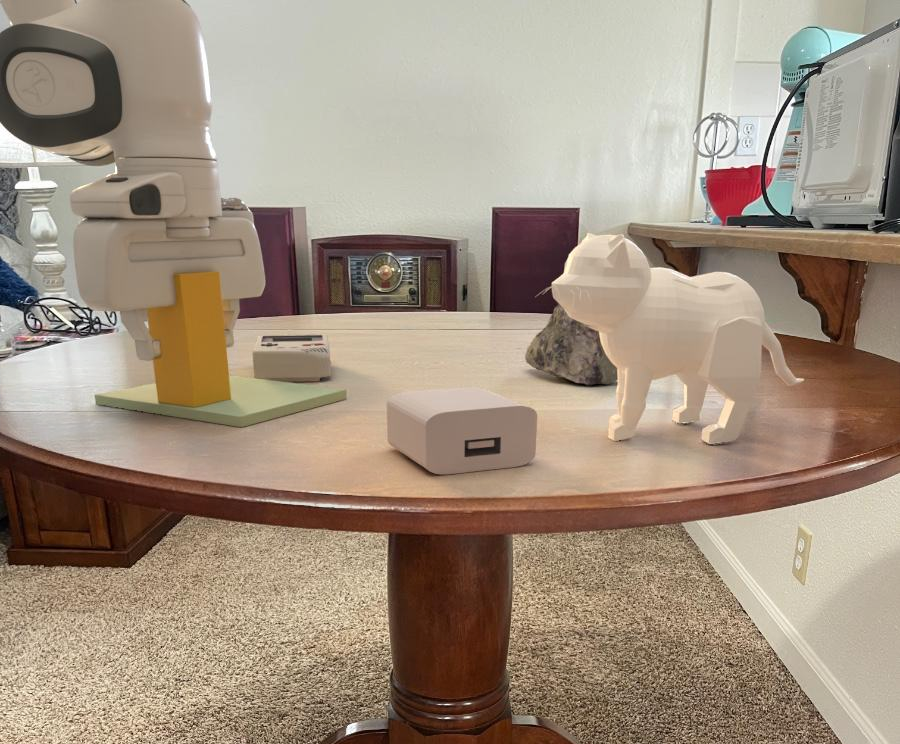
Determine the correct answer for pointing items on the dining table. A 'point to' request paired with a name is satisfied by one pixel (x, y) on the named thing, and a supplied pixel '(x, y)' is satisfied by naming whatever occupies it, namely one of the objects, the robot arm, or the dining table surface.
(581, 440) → the dining table surface
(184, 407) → the mat
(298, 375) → the handheld gaming device
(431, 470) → the charger
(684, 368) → the cat figurine
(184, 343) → the block
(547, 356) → the mineral rock
